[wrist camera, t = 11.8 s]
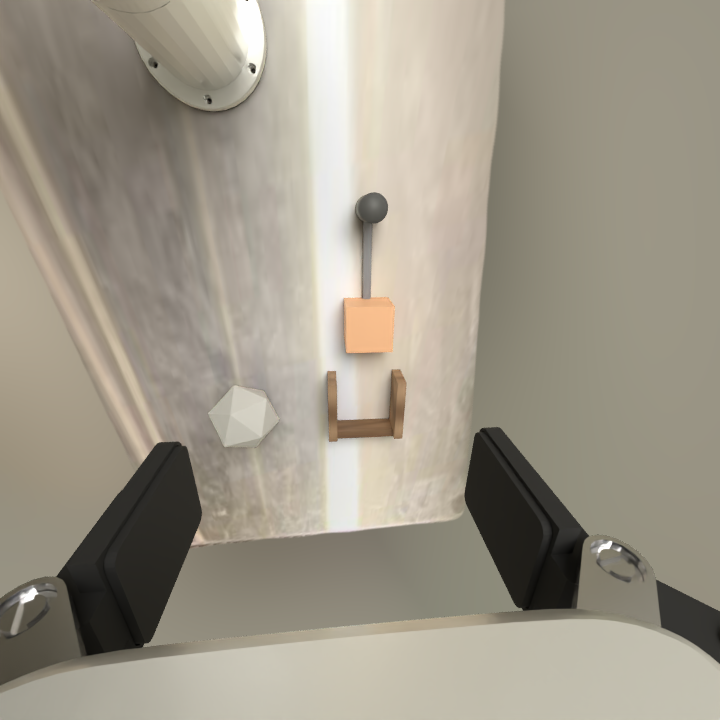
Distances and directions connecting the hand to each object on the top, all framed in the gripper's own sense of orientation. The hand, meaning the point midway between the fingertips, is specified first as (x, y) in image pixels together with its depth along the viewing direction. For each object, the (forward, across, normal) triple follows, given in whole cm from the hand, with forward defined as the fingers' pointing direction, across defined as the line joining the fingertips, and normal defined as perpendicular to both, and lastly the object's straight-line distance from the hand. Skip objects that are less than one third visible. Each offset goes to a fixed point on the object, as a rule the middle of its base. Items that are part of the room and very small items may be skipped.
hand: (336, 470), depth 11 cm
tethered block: (+36, -5, -1) cm, 37 cm away
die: (+37, +12, +18) cm, 43 cm away
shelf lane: (+36, -5, +18) cm, 41 cm away
